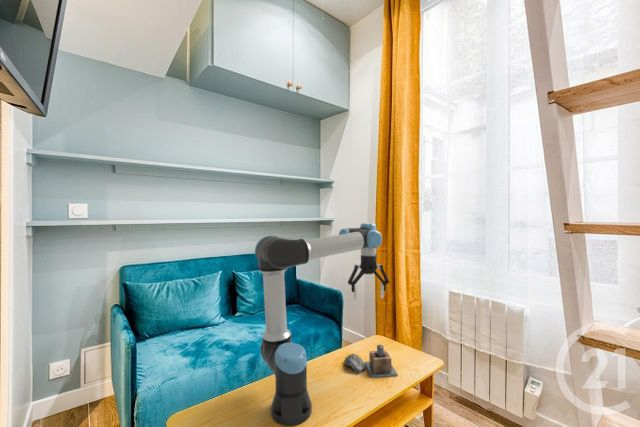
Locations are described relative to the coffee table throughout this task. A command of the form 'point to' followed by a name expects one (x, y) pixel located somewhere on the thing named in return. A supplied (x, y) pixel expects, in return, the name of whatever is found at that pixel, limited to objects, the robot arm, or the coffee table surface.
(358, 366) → the fossilized seashell
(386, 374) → the knob on metal plate
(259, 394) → the coffee table surface
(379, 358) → the collar
